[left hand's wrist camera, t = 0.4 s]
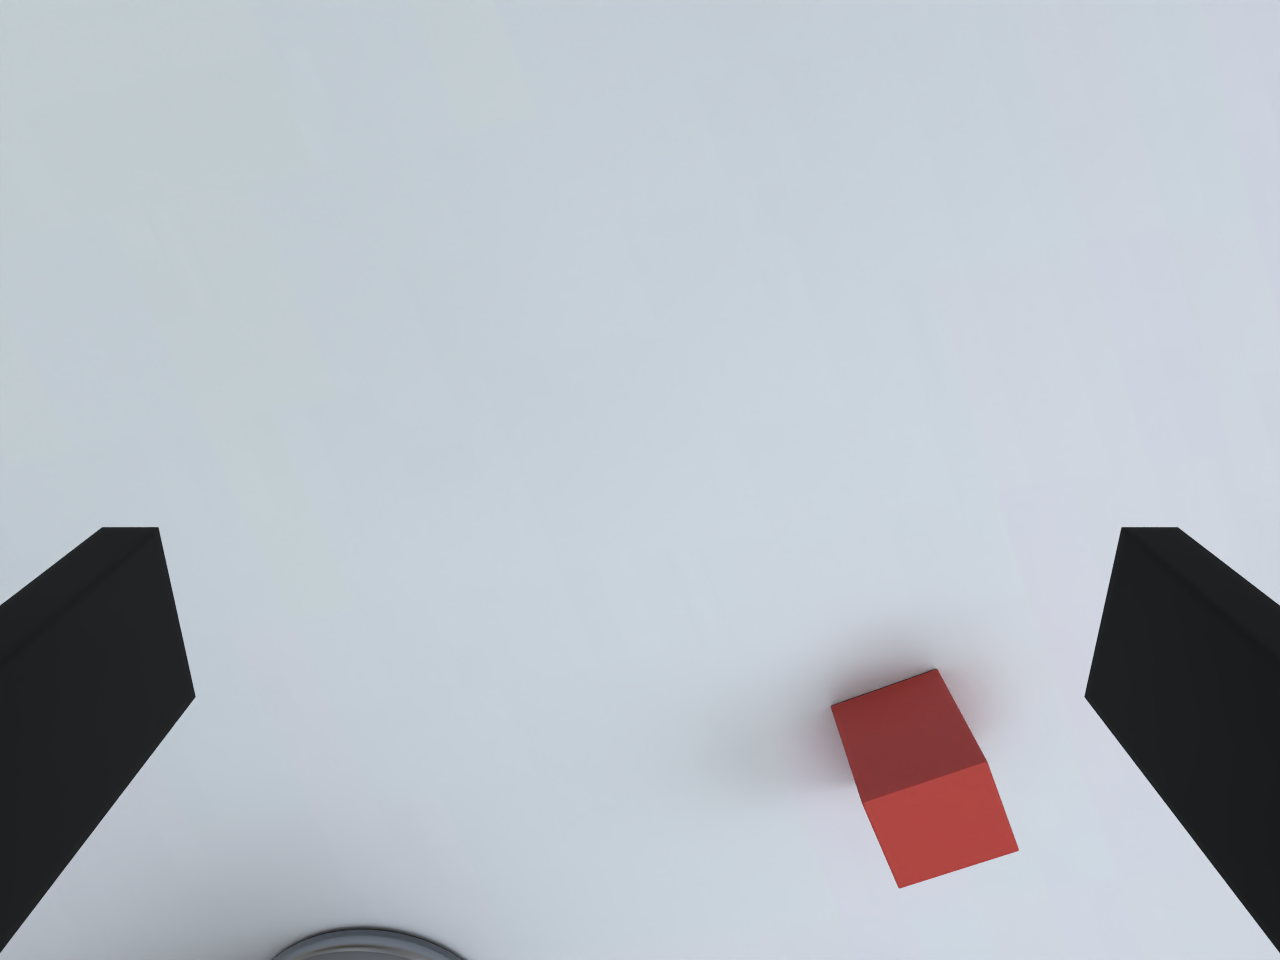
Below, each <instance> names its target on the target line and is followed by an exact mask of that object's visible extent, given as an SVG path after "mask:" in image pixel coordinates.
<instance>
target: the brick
mask: <svg viewBox="0 0 1280 960" xmlns="http://www.w3.org/2000/svg"><path fill="white" fill-rule="evenodd" d="M831 709H832V712H833V715H834V718H835V721H836V725H837V728H838V731H839V734H840V737H841V740H842V743H843V746H844V749H845V752H846V755H847V758H848V761H849V765H850V768H851V771H852V774H853V777H854V780H855V783H856V786H857V789H858V792H859V795H860V798H861V802H862V804H863V807H864V809H865V811H866V814H867V816H868V818H869V820H870V823H871V825H872V827H873V830H874V832H875V834H876V837H877V839H878V841H879V844H880V846H881V848H882V851H883V853H884V855H885V858H886V860H887V862H888V865H889V867H890V869H891V871H892V874H893V876H894V878H895V881H896V883H897V885H898V888H903V887H906V886H909V885H912V884H915V883H918V882H922V881H925V880H928V879H931V878H934V877H937V876H940V875H944V874H947V873H950V872H953V871H956V870H959V869H963V868H966V867H969V866H972V865H975V864H978V863H982V862H985V861H988V860H991V859H994V858H997V857H1000V856H1004V855H1007V854H1010V853H1013V852H1016V851H1019V849H1018V846H1017V843H1016V840H1015V838H1014V835H1013V832H1012V829H1011V826H1010V824H1009V821H1008V818H1007V815H1006V813H1005V810H1004V807H1003V804H1002V801H1001V799H1000V796H999V793H998V790H997V787H996V785H995V782H994V779H993V776H992V774H991V771H990V768H989V765H988V762H987V760H986V758H985V757H984V755H983V753H982V751H981V749H980V747H979V745H978V744H977V742H976V740H975V738H974V736H973V734H972V733H971V731H970V729H969V727H968V725H967V723H966V721H965V720H964V718H963V716H962V714H961V712H960V710H959V708H958V707H957V705H956V703H955V701H954V699H953V697H952V696H951V694H950V692H949V690H948V688H947V686H946V684H945V683H944V681H943V679H942V677H941V675H940V673H939V671H938V670H937V669H935V670H933V671H930V672H927V673H924V674H921V675H918V676H916V677H913V678H910V679H907V680H904V681H901V682H898V683H896V684H893V685H890V686H887V687H884V688H881V689H879V690H876V691H873V692H870V693H867V694H864V695H861V696H859V697H856V698H853V699H850V700H847V701H844V702H842V703H839V704H836V705H833V706H831Z"/></svg>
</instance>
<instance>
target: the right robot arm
mask: <svg viewBox="0 0 1280 960" xmlns="http://www.w3.org/2000/svg"><path fill="white" fill-rule="evenodd" d="M273 960H462V959H460V958H459V957H457V956H455V955H454V954H452V953H451V952H449V951H447V950H445V949H443V948H441V947H439V946H437V945H435V944H432V943H430V942H427V941H425V940H422V939H419V938H416V937H412V936H408V935H404V934H400V933H395V932H389V931H380V930H345V931H337V932H332V933H327V934H322V935H319V936H315V937H312V938H309V939H307V940H304V941H301V942H299V943H297V944H295V945H293V946H291V947H290V948H288V949H286V950H285V951H283V952H282V953H280V954H279V955H278V956H276V957H275V958H274V959H273Z"/></svg>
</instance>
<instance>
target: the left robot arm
mask: <svg viewBox="0 0 1280 960" xmlns="http://www.w3.org/2000/svg"><path fill="white" fill-rule="evenodd" d="M194 698H195V692H194V688H193V683H192V678H191V674H190V669H189V665H188V660H187V656H186V651H185V647H184V642H183V637H182V633H181V628H180V624H179V619H178V615H177V610H176V605H175V601H174V596H173V592H172V587H171V583H170V578H169V573H168V569H167V564H166V560H165V555H164V551H163V546H162V542H161V537H160V532H159V528H158V527H102V528H101V529H99V530H98V531H97V532H95V533H94V534H93V535H92V536H90V537H89V538H88V539H86V540H85V541H84V542H82V543H81V544H80V545H79V546H77V547H76V548H75V549H73V550H72V551H71V552H69V553H68V554H67V555H65V556H64V557H63V558H62V559H60V560H59V561H58V562H56V563H55V564H54V565H52V566H51V567H50V568H49V569H47V570H46V571H45V572H43V573H42V574H41V575H39V576H38V577H37V578H36V579H34V580H33V581H32V582H30V583H29V584H28V585H26V586H25V587H24V588H23V589H21V590H20V591H19V592H17V593H16V594H15V595H13V596H12V597H11V598H9V599H8V600H7V601H6V602H4V603H3V604H2V605H0V952H1V951H2V950H3V948H4V947H5V946H6V945H7V943H8V942H9V941H10V939H11V938H12V937H13V935H14V934H15V933H16V931H17V930H18V929H19V928H20V926H21V925H22V924H23V922H24V921H25V920H26V918H27V917H28V916H29V914H30V913H31V912H32V910H33V909H34V908H35V907H36V905H37V904H38V903H39V901H40V900H41V899H42V897H43V896H44V895H45V893H46V892H47V891H48V890H49V888H50V887H51V886H52V884H53V883H54V882H55V880H56V879H57V878H58V876H59V875H60V874H61V872H62V871H63V870H64V869H65V867H66V866H67V865H68V863H69V862H70V861H71V859H72V858H73V857H74V855H75V854H76V853H77V852H78V850H79V849H80V848H81V846H82V845H83V844H84V842H85V841H86V840H87V838H88V837H89V836H90V834H91V833H92V832H93V831H94V829H95V828H96V827H97V825H98V824H99V823H100V821H101V820H102V819H103V817H104V816H105V815H106V814H107V812H108V811H109V810H110V808H111V807H112V806H113V804H114V803H115V802H116V800H117V799H118V798H119V796H120V795H121V794H122V793H123V791H124V790H125V789H126V787H127V786H128V785H129V783H130V782H131V781H132V779H133V778H134V777H135V776H136V774H137V773H138V772H139V770H140V769H141V768H142V766H143V765H144V764H145V762H146V761H147V760H148V758H149V757H150V756H151V755H152V753H153V752H154V751H155V749H156V748H157V747H158V745H159V744H160V743H161V741H162V740H163V739H164V738H165V736H166V735H167V734H168V732H169V731H170V730H171V728H172V727H173V726H174V724H175V723H176V722H177V720H178V719H179V718H180V717H181V715H182V714H183V713H184V711H185V710H186V709H187V707H188V706H189V705H190V703H191V702H192V701H193V700H194ZM1085 698H1086V700H1087V701H1088V702H1089V703H1090V705H1091V706H1092V707H1093V709H1094V710H1095V711H1096V713H1097V714H1098V715H1099V717H1100V718H1101V719H1102V720H1103V722H1104V723H1105V724H1106V726H1107V727H1108V728H1109V730H1110V731H1111V732H1112V734H1113V735H1114V736H1115V738H1116V739H1117V740H1118V741H1119V743H1120V744H1121V745H1122V747H1123V748H1124V749H1125V751H1126V752H1127V753H1128V755H1129V756H1130V757H1131V758H1132V760H1133V761H1134V762H1135V764H1136V765H1137V766H1138V768H1139V769H1140V770H1141V772H1142V773H1143V774H1144V776H1145V777H1146V778H1147V779H1148V781H1149V782H1150V783H1151V785H1152V786H1153V787H1154V789H1155V790H1156V791H1157V793H1158V794H1159V795H1160V796H1161V798H1162V799H1163V800H1164V802H1165V803H1166V804H1167V806H1168V807H1169V808H1170V810H1171V811H1172V812H1173V814H1174V815H1175V816H1176V817H1177V819H1178V820H1179V821H1180V823H1181V824H1182V825H1183V827H1184V828H1185V829H1186V831H1187V832H1188V833H1189V834H1190V836H1191V837H1192V838H1193V840H1194V841H1195V842H1196V844H1197V845H1198V846H1199V848H1200V849H1201V850H1202V852H1203V853H1204V854H1205V855H1206V857H1207V858H1208V859H1209V861H1210V862H1211V863H1212V865H1213V866H1214V867H1215V869H1216V870H1217V871H1218V872H1219V874H1220V875H1221V876H1222V878H1223V879H1224V880H1225V882H1226V883H1227V884H1228V886H1229V887H1230V888H1231V890H1232V891H1233V892H1234V893H1235V895H1236V896H1237V897H1238V899H1239V900H1240V901H1241V903H1242V904H1243V905H1244V907H1245V908H1246V909H1247V910H1248V912H1249V913H1250V914H1251V916H1252V917H1253V918H1254V920H1255V921H1256V922H1257V924H1258V925H1259V926H1260V928H1261V929H1262V930H1263V931H1264V933H1265V934H1266V935H1267V937H1268V938H1269V939H1270V941H1271V942H1272V943H1273V945H1274V946H1275V947H1276V948H1277V950H1278V951H1279V952H1280V605H1278V604H1277V603H1276V602H1274V601H1273V600H1272V599H1271V598H1269V597H1268V596H1267V595H1265V594H1264V593H1263V592H1261V591H1260V590H1259V589H1257V588H1256V587H1255V586H1254V585H1252V584H1251V583H1250V582H1248V581H1247V580H1246V579H1244V578H1243V577H1242V576H1241V575H1239V574H1238V573H1237V572H1235V571H1234V570H1233V569H1231V568H1230V567H1229V566H1228V565H1226V564H1225V563H1224V562H1222V561H1221V560H1220V559H1218V558H1217V557H1216V556H1214V555H1213V554H1212V553H1211V552H1209V551H1208V550H1207V549H1205V548H1204V547H1203V546H1201V545H1200V544H1199V543H1198V542H1196V541H1195V540H1194V539H1192V538H1191V537H1190V536H1188V535H1187V534H1186V533H1185V532H1183V531H1182V530H1181V529H1179V528H1178V527H1122V528H1121V532H1120V537H1119V542H1118V546H1117V551H1116V555H1115V560H1114V564H1113V569H1112V573H1111V578H1110V583H1109V587H1108V592H1107V596H1106V601H1105V605H1104V610H1103V615H1102V619H1101V624H1100V628H1099V633H1098V637H1097V642H1096V646H1095V651H1094V656H1093V660H1092V665H1091V669H1090V674H1089V678H1088V683H1087V688H1086V692H1085Z"/></svg>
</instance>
